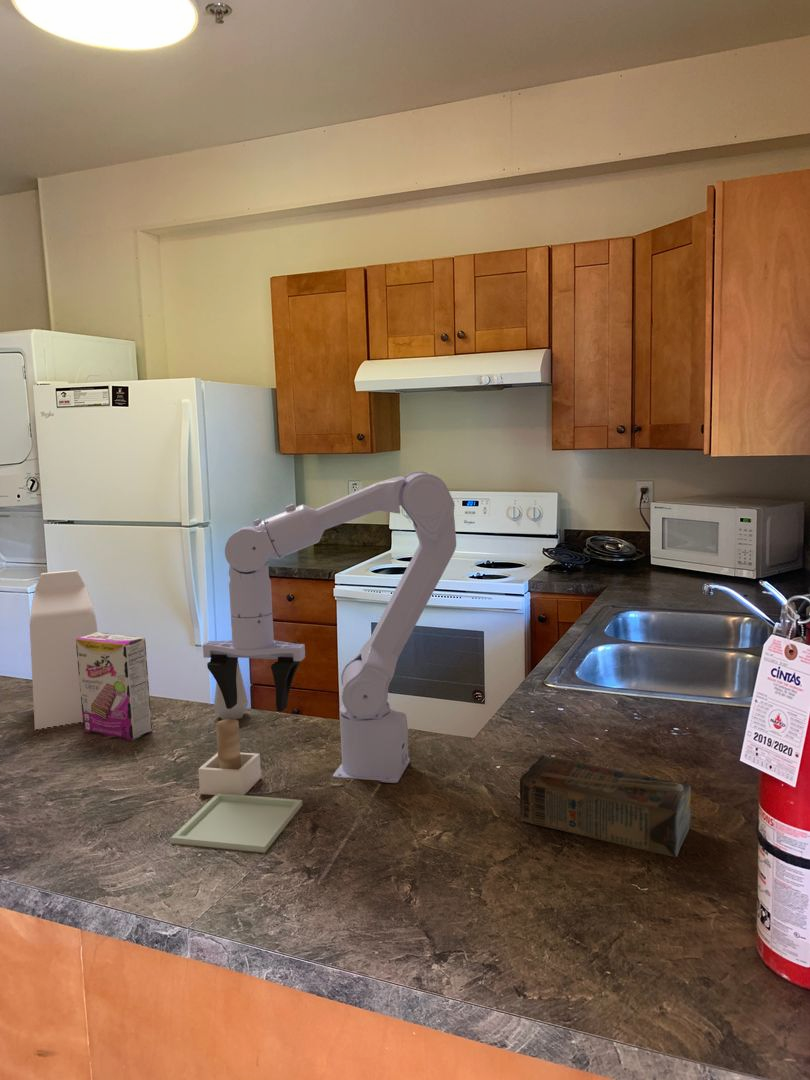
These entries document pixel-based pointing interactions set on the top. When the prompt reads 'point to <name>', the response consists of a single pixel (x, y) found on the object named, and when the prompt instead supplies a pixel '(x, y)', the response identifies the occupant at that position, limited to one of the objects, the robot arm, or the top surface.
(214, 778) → the open box
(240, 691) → the salt shaker
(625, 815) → the beverage carton
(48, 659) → the milk
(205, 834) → the tray
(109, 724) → the candy bar box
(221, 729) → the dowel
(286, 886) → the top surface
